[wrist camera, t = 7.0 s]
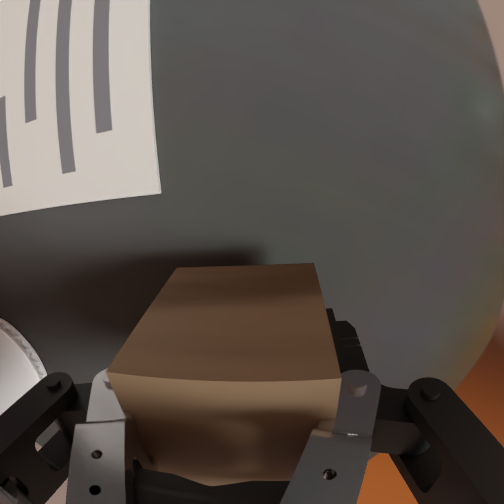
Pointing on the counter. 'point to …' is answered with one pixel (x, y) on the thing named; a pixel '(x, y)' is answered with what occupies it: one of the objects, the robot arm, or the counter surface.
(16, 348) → the vase
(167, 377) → the walnut block
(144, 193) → the letter
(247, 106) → the counter surface
